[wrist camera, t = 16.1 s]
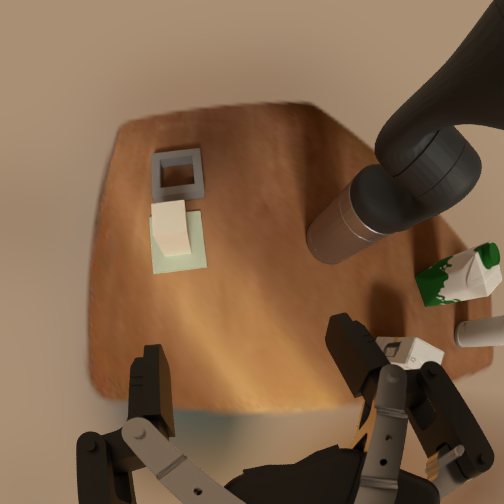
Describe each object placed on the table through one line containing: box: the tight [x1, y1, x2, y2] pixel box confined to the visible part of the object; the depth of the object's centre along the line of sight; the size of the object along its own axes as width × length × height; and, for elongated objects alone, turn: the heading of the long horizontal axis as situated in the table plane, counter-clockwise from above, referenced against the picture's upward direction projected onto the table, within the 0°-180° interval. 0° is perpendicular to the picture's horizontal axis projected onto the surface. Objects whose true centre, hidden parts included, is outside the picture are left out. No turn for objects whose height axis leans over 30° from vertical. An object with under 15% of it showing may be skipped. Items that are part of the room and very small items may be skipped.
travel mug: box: [454, 316, 504, 347], centre depth 41 cm, size 6×7×20 cm
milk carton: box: [415, 241, 502, 307], centre depth 42 cm, size 9×9×20 cm
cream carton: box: [151, 200, 191, 257], centre depth 41 cm, size 4×4×11 cm
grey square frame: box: [152, 148, 204, 203], centre depth 48 cm, size 9×9×3 cm
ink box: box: [376, 337, 444, 370], centre depth 41 cm, size 9×5×12 cm, turn 64°
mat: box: [150, 211, 207, 274], centre depth 46 cm, size 9×10×1 cm
